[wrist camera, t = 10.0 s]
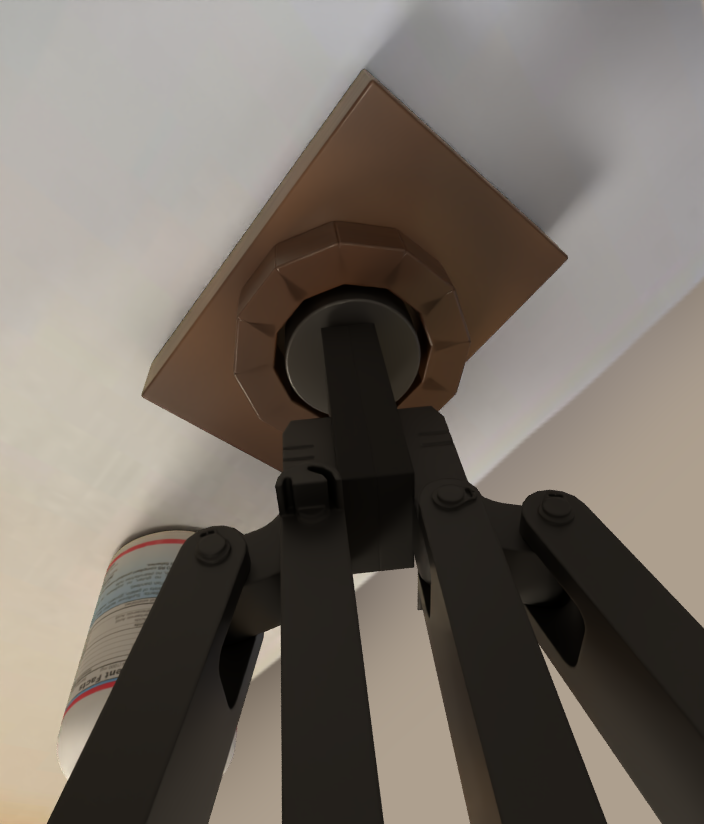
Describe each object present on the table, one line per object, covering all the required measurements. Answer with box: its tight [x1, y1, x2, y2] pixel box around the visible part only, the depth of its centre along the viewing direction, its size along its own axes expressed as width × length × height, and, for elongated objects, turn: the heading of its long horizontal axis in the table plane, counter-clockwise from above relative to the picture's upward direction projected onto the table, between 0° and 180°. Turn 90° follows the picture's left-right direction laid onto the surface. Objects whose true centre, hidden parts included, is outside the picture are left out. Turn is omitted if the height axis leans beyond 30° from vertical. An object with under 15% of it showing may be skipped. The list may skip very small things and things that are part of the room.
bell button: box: [285, 284, 421, 414], centre depth 20 cm, size 4×4×2 cm
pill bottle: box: [57, 531, 237, 780], centre depth 24 cm, size 6×6×11 cm
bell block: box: [141, 69, 568, 472], centre depth 21 cm, size 12×8×4 cm, turn 141°
